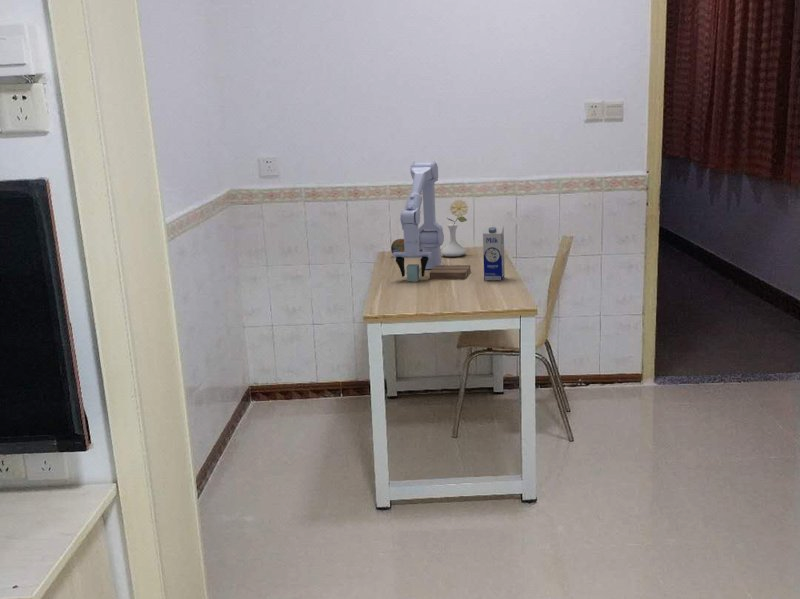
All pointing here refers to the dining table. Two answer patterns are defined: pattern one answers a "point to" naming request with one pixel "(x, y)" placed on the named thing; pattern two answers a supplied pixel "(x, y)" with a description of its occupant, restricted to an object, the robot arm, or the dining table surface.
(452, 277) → the walnut base
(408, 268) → the teal block
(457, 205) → the flower in vase
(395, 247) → the tin
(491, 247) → the milk carton
